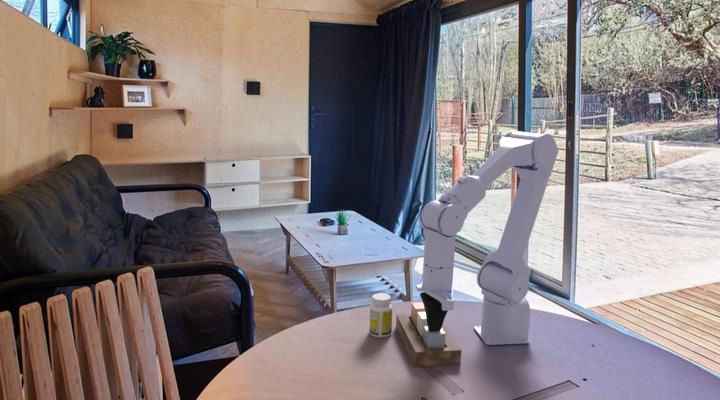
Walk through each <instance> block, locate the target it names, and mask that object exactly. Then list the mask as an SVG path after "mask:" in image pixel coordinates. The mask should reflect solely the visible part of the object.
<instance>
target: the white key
mask: <svg viewBox="0 0 720 400" xmlns="http://www.w3.org/2000/svg"><path fill="white" fill-rule="evenodd" d="M424 326H428V325H427V319H426V312H417V330H418V332H419V334H420V335H421V336H423V330H424Z"/></svg>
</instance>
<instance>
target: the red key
mask: <svg viewBox="0 0 720 400" xmlns="http://www.w3.org/2000/svg"><path fill="white" fill-rule="evenodd" d="M410 308H411V309H410V314H411V320H412V321H413V323H414V325H417V312H425V307H424V304H423V301H420V302H419V301H414V302H413V301H412V302H411V307H410Z"/></svg>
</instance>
